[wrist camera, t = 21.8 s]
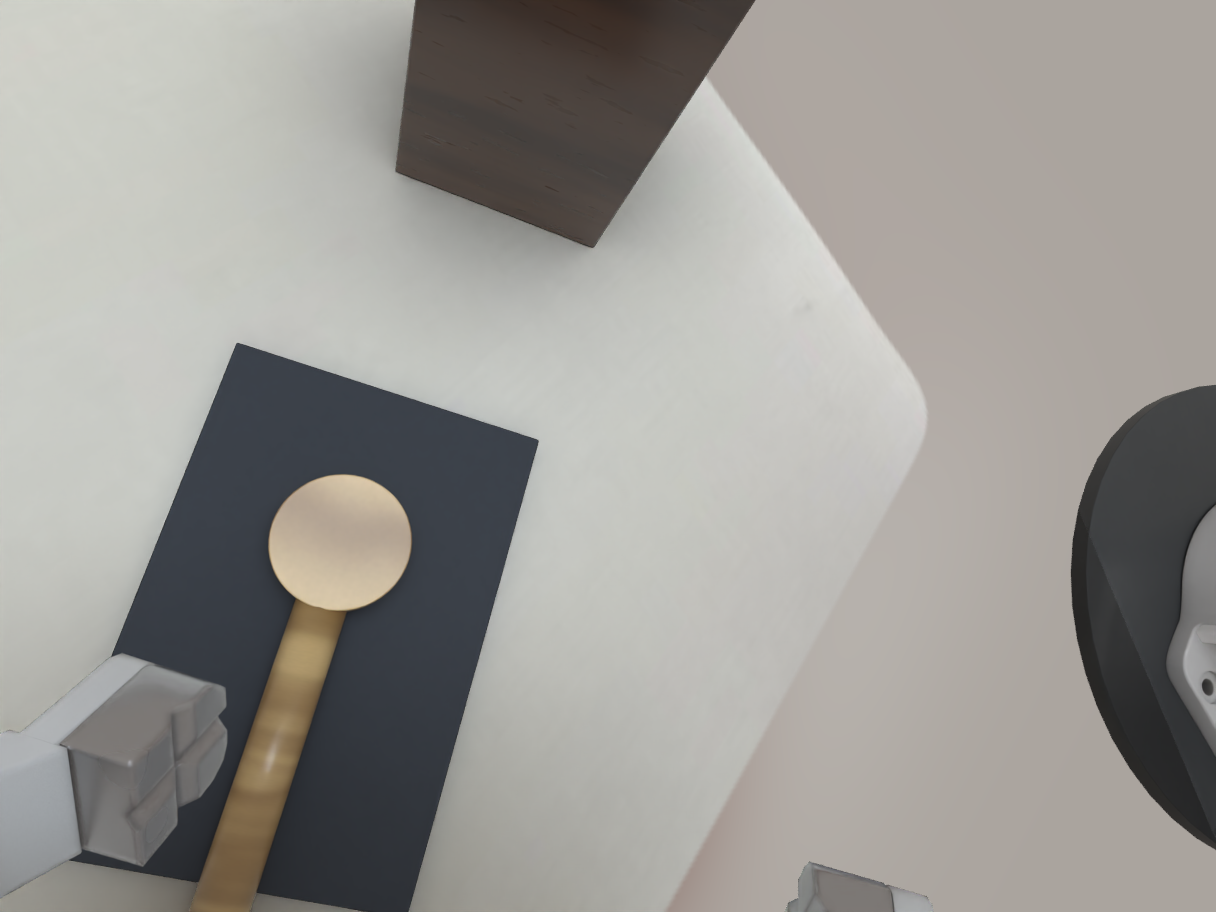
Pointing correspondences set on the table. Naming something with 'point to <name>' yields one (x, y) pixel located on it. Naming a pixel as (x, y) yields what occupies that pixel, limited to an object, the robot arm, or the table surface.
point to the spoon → (301, 660)
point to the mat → (370, 637)
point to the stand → (552, 99)
